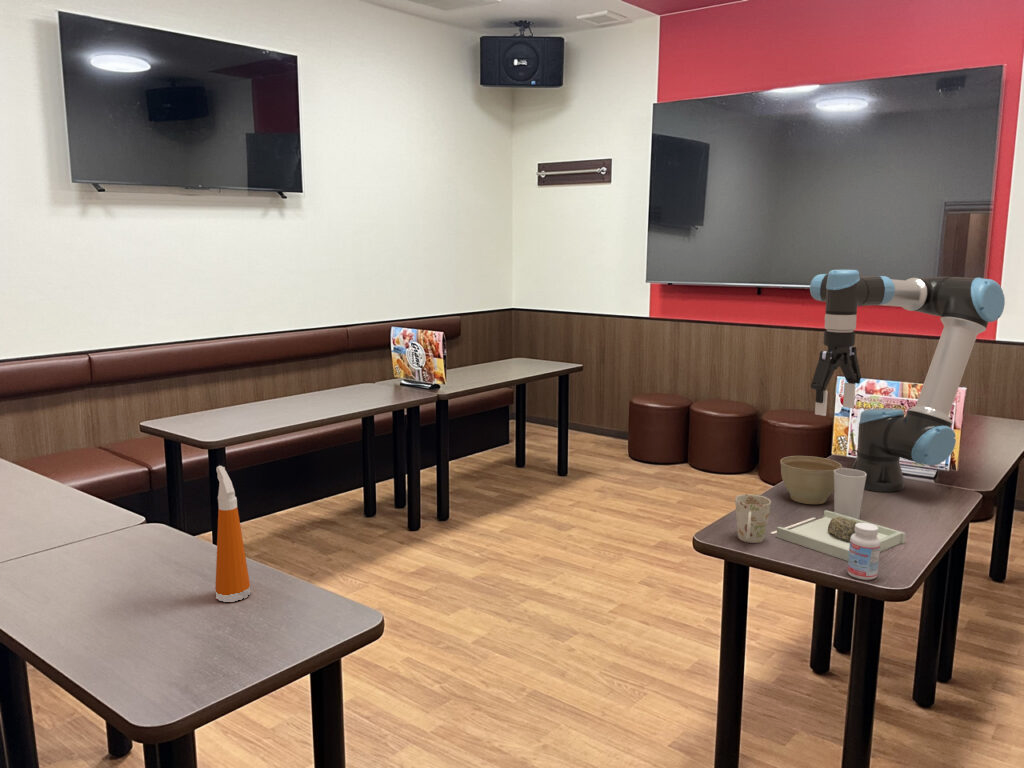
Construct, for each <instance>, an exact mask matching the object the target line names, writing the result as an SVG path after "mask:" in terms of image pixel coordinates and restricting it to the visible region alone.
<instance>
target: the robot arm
mask: <svg viewBox="0 0 1024 768" xmlns="http://www.w3.org/2000/svg"><path fill="white" fill-rule="evenodd" d="M809 291H810V295H811V297H812V298H813V299H814V300H815V301H818V302H819V301H820V302H823V303H824V302H825V315H824V318H823V319H824V329H825V330H824V331H823V341H822V342H823V344H824V346H827V351H824V350H820V352H819V358H818V362H817V364H816V368H815V371H814V374H813V378H812V381H811V383H810V388H811V389H812V390H815V403H814V404H815V405H814V408H815V409H814V415H818V416H823V417H826V416H827V407H828V394H829V393H828V390H826V389H827V387H828V385H829V384H830V382H831V379H832V377H833V375H834V373H835V371H836V370H838V368H839V367H840V369H841V371H842V373H843V376H844V379H845V381H846V382H844V384H843V385H844V386H843V398H842V399H843V401H842V407H843V408H848V409H854V408H855V401H856V400H855V398H856V385H857V384H858V385H859V384H860V383H861V379H862V376H861V371H860V365H859V359H858V356H857V352H858V351H857V350H858V349H857V347H856V346H855V344H856V332H855V331H854V330H857V328H856V327H857V317H858V316H857V314H858V307H862V306H865V307H867V306H887V307H888V306H889V307H901V308H902V309H904V310H906V311H910V312H918V313H923V314H927V315H930V316H935V317H940V321H941V323H942V324H943V329H942V331H941V334H940V338H939V340H938V343H937V345H936V348H935V351H934V354H933V356H932V359H931V363H930V365H929V368H928V371H927V373H926V376H925V379H924V382H923V385H922V387H921V389H920V394H919V396H918V398H917V401H916V405H915V406H913V407H910V408H909V409H907V412H906V415H905V412H904V410H903V409H900V408H887V407H886V408H885V407H884V408H870V409H869V408H867V409H865V410H863V411H861V413H860V416H859V417H860V418H859V422H858V435H857V452H856V458H855V461H854V463H853V465H852V467H851V469H856V470H860V471H863V472H865V473H866V474H867V475H866V481H865V486H864V490H867V491H872V492H882V493H883V492H885V493H891V492H900V491H903V489H904V487H905V478H904V475H903V474H904V473H903V470H902V466H901V463H900V459H904V460H908V461H911V462H914V463H916V464H919V465H926V466H937V465H940V464H941V463H943V462H945V461H946V460H947V459H948V458H949V457H950V456H951V455H952V453H953V451H954V450H955V447H956V441H957V440H956V439H957V438H956V433H955V431H954V430H953V428H952V425H953V422H952V420H951V418H950V416H949V415H950V412H951V410H952V406H953V404H954V401H955V400H956V399H955V398H956V396H957V393H958V390H959V389H960V388H959V387H960V385H961V381H962V379H963V376H964V373H965V370H966V368H967V365H968V361H969V359H970V357H971V354H972V350H973V349H974V346H975V345H974V344H975V343H976V340H977V337H978V335H979V334H982V333H983V332H985V331H986V330H987V329H988V328H987V327H988V325H989V323H993V322H996V321H997V320H998V319H1000V318H1001V316H1002V314H1003V312H1004V309H1005V304H1006V303H1005V302H1006V301H1005V294H1004V290H1003V289H1002V286H1001V284H1000V283H998V282H997V281H995V280H993V279H990V278H982V277H963V276H961V277H960V276H934V277H910V278H907V279H906V280H904V279H893V278H890V277H888V276H887V275H886V276H885V275H875V276H874V275H870V276H867V275H860V272H859V270H858V269H832V270H830V271H829V272H828V273H822V274H821V273H820V274H817V275H815V276H814V277H813V278H812V280H811V281H810V286H809Z"/></svg>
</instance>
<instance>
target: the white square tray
mask: <svg viewBox="0 0 1024 768" xmlns="http://www.w3.org/2000/svg"><path fill="white" fill-rule="evenodd" d="M836 517H841V518H845V519H848V520H854V521H856V522H859V523H869V524H873V525H875V526H877V527H878V535H877V537H878V538H879V539H880V553H882V552H884V551H886V550H889V549H890V548H893V547H896V546H897V545H900V544H905V542H906V532H903V531H900V530H896V529H892V528H890V527H887V526H883V525H879V524H877V523H876V524H875V523H872V522H868V521H866V520H862V519H860V518H859V519H855V518H852V517H849V516H845V515H842V514H838V513H835V512H834V511H830V510H829V509H828V510H823V517H821V518H819V519H815V520H812V521H809V522H806V523H803V524H801V525H798V526H795V527H792V528H790V529H785V527H781V526H777V527H776V531H777V533H776V538H778V539H781V540H783V541H787V542H790V543H793V544H796V545H800V546H802V547H804V548H808V549H811V550H814V551H816V552H820V553H822V554H825V555H829V556H832V557H834V558H838V559H841V560H844V561H847V562H848V559H849V547H850V542H848V541H847V542H846V541H845V540H844V539H840V538H838V537H836V536H834V534H831V533H828V526H829V523H830V521H831V519H834V518H836Z"/></svg>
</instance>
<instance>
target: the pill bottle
mask: <svg viewBox="0 0 1024 768" xmlns="http://www.w3.org/2000/svg"><path fill="white" fill-rule="evenodd" d="M869 523H870V522H869ZM869 523H857V524H855V529H854V530H855V532H856V533H855V534H853V535H852V536H851V538H850V547H849V559H848V561H847V562H848V563H847V573H848V575H849V576H851V577H852V578H855V579H859V580H863V581H869V580H874V579H876V578H877V577H878V571H879V561H880V553H881V552H880V539H879V538H878V537H877V535H878V527H877V526H875V525H873V524H874V523H873V524H869Z"/></svg>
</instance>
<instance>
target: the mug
mask: <svg viewBox="0 0 1024 768" xmlns="http://www.w3.org/2000/svg"><path fill="white" fill-rule="evenodd" d="M734 504H735V516H736V517H735V518H736V526H737V527H736V528H737V538H738V539H739V540H740V541H742V542H745V543H751V544H759V543H762V542H763V541H764V540H765V536H766V530H767V526H768V522H769V521H768V520H769V516H770V511H771V505H772V500H771V499H769V497H766V496H763V495H759V494H758V495H757V494H750V493H749V494H747V493H746V494H739V495H736V497H735V501H734Z"/></svg>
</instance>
